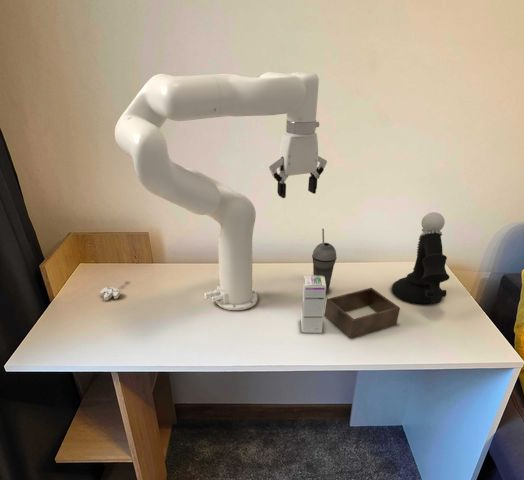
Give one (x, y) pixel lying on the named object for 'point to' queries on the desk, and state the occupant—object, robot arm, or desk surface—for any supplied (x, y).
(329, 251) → the beverage cup
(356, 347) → the desk surface
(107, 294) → the white flower stem
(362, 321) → the bin
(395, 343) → the desk surface
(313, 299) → the syrup box
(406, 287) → the sculpture
